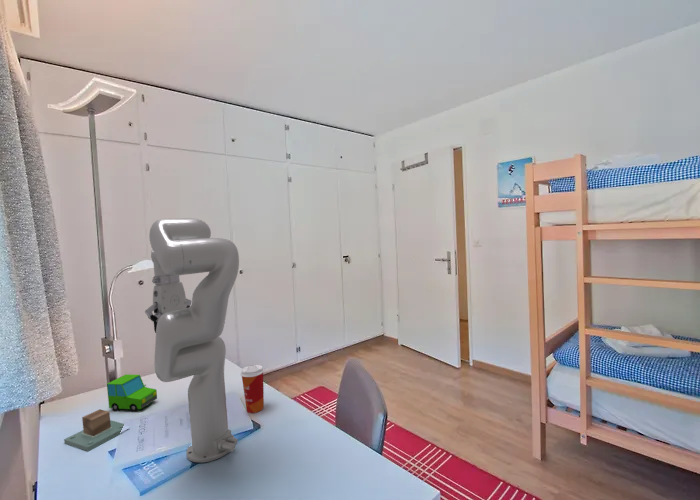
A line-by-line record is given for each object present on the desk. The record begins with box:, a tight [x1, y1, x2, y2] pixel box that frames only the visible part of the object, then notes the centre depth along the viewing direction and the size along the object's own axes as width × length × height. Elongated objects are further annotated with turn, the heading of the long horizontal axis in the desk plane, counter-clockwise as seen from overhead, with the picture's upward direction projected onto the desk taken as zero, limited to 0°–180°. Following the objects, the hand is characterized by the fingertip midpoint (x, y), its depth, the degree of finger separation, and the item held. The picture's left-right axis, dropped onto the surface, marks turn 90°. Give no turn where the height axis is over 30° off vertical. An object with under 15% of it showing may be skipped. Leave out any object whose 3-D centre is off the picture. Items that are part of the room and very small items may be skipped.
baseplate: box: [63, 419, 125, 452], centre depth 107 cm, size 12×12×2 cm
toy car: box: [106, 374, 158, 413], centre depth 126 cm, size 10×13×10 cm
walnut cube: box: [81, 409, 111, 436], centre depth 107 cm, size 5×5×5 cm
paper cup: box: [240, 364, 265, 414], centre depth 118 cm, size 8×8×14 cm
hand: (171, 329), depth 121 cm, fingers open, 9 cm apart
